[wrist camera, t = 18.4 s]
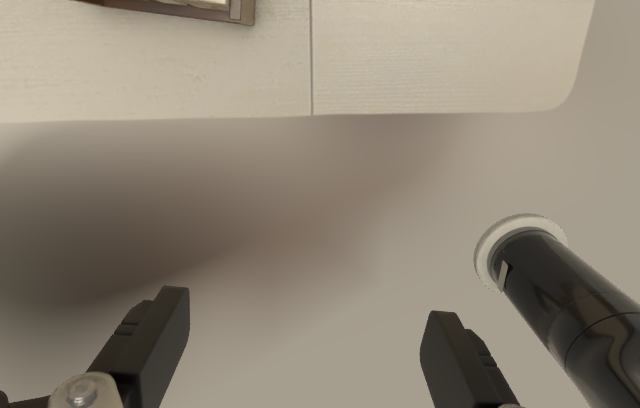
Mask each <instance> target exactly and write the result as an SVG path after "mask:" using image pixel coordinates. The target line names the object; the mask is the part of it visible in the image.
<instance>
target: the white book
mask: <svg viewBox="0 0 640 408" xmlns="http://www.w3.org/2000/svg"><path fill="white" fill-rule="evenodd" d="M156 1H159V2H163V3H170V4H178V5H187V3H184V2H181V1H179V0H156Z"/></svg>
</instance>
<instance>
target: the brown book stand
mask: <svg viewBox="0 0 640 408" xmlns="http://www.w3.org/2000/svg"><path fill="white" fill-rule="evenodd" d="M70 1H76V2H81V3H86V4H91V5H96V6H102V7H110V8H118V9H125V10H133V11H141V12H149V13H157V14H165V15H173V16H180V17H188V18H196V19H204V20H212V21H220V22H228V23H235V24H243V25H251V26H254V25H255V4H256V0H179V1H181V2H184V3H187V5H178V4H170V3H163V2H159V1H156V0H70Z"/></svg>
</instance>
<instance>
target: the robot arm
mask: <svg viewBox="0 0 640 408" xmlns="http://www.w3.org/2000/svg"><path fill="white" fill-rule="evenodd" d="M487 270H488V273H489V275H490V277H491V278H492V279H493V281H494V282H495V283H496V284H497V288H498V289H499V291H500V292H501V293H502V291H503V292H504V294H505V295H506V296H507V298H508V299H509V300H510V302H511V303H512V304H513V305H514V307H515V308H516V309H517V311H518V312H519V313H520V315H521V316H522V317H523V318H524V320H525V321H526V322H527V324H528V325H529V326H530V328H531V329H532V330H533V331H534V333H535V334H536V335H537V336H538V338H539V339H540V340H541V342H542V343H543V344H544V346H545V347H546V348H547V350H548V351H549V352H550V353H551V355H552V356H553V357H554V358H555V360H556V361H557V362H558V364H559V365H560V366H561V367H562V369H563V370H564V371H565V373H566V374H567V375H568V377H569V378H570V379H571V381H572V382H573V383H574V384H575V386H576V387H577V388H578V390H579V391H580V392H581V394H582V395H583V397H584V398H585V400H586V401H587V403H588V404H589V406H590V407H591V408H640V305H639V304H638V303H637V302H635V301H634V300H633V299H631V298H630V297H629V296H627V295H626V294H625V293H624V292H622V291H621V290H620V289H619V288H617V287H616V286H615V285H614V284H612V283H611V282H610V281H609V280H607V279H606V278H605V277H603V276H602V275H601V274H600V273H599V272H597V271H596V270H595V269H593V268H592V267H591V266H590V265H588V264H587V263H586V262H584V261H583V260H582V259H581V258H580V257H578V256H577V255H576V254H574V253H573V252H572V251H571V250H570V249H568V248H567V247H566V246H565V245H563V244H562V243H561V242H560V241H558V240H557V238H556V237H555V236H553V235H552V234H551V233H550V232H548V231H546V230H545V229H542V228H539V227H530V226H529V227H521V228H517V229H514V230H512V231H510V232H508V233H506V234H505V235H503V236H502V237H501V238H499V239H498V240H497V241H496V242H495V244H494V245H493V246H492V248H491V250H490V252H489V254H488V258H487ZM189 301H190V298H189V289H188V288H185V287H173V286H163V287H162V289H161V290H160V292H159V293H158V295H157V297H156V298H155V299H154V301H150V300H143V301H142V302H141V303H139V304H138V305H136V306H135V307H133V308H132V309H131V310H130V311H129V312H128V313H127V315H126V316H125V318H124V319H123V320H122V322H121V324H120V325H119V326H118V327H117V329H116V330H115V332H114V335H113V334H112V336H111V337H110V339H109V340H108V342H107V343H106V344H105V346H104V347H103V349H102V350H101V351H100V353H99V354H98V356H97V357H96V358H95V360H94V361H93V363H92V364H91V365H90V367H89V368H88V370H87V371H86V372H85V373H83V374H79V375H77V376H74V377H72V378H70V379H68V380H67V381H65V382H64V383H62V384H61V385H60V386H59V387H57V388H56V389H55V391H54V392H53V393H52V395H49V396H45V397H41V398H35V399H30V400H24V401H19V402H13V403H9V402H8V398H7V396H6V394H5V393H4V392H3V391H0V408H159V406H160V404H161V402H162V399H163V397H164V395H165V392H166V390H167V388H168V386H169V383H170V381H171V379H172V376H173V374H174V372H175V369H176V367H177V365H178V363H179V360H180V358H181V356H182V354H183V351H184V349H185V347H186V344H187V341H188V336H189V331H190V306H189V305H190V302H189ZM420 363H421V367H422V370H423V373H424V376H425V379H426V382H427V385H428V388H429V391H430V394H431V397H432V400H433V403H434V406H435V408H524V407H521V406H520V404H519V403H518V401H517V399H516V397H515V395H514V394H513V392H512V390H511V389H510V387H509V385H508V383H507V382H506V380H505V378H504V376H503V374H502V373H501V371H500V369H499V368H498V367H497V364H496V362H495V361H494V359H493V357H491V354H490V352H489V350H488V348H487V347H486V345H485V343H484V341H483V340H481V339H480V338H479V337H478V336H477V335H476V334H475V333H474V332H473V331H472V330H471V329H464V327H463V325H462V323H461V321H460V319H459V318H458V316H457V314H456V313H454V312H444V311H431V312H430V314H429V317H428V321H427V325H426V328H425V332H424V335H423V339H422V343H421V347H420Z"/></svg>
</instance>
